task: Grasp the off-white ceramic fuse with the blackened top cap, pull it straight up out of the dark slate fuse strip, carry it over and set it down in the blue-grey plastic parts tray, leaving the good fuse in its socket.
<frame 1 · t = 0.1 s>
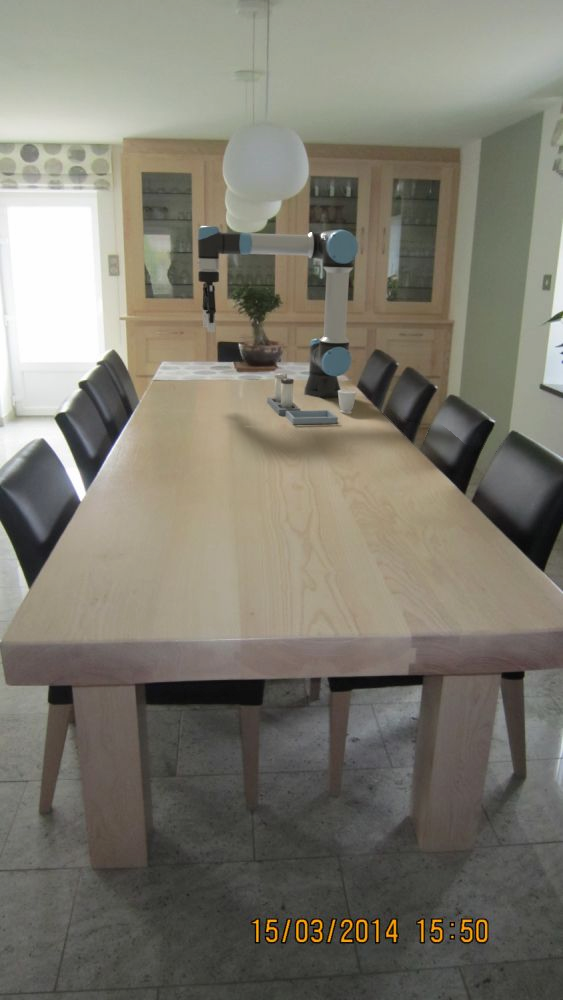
hand: (209, 329, 281), 28 cm above the table, fingers open, 13 cm apart
parts tray: (311, 420, 266), on the table
blown fuse: (286, 411, 277), resting on fuse strip
fuse strip: (283, 409, 283), on the table
good fuse: (280, 405, 287), resting on fuse strip
cup: (345, 412, 283), on the table
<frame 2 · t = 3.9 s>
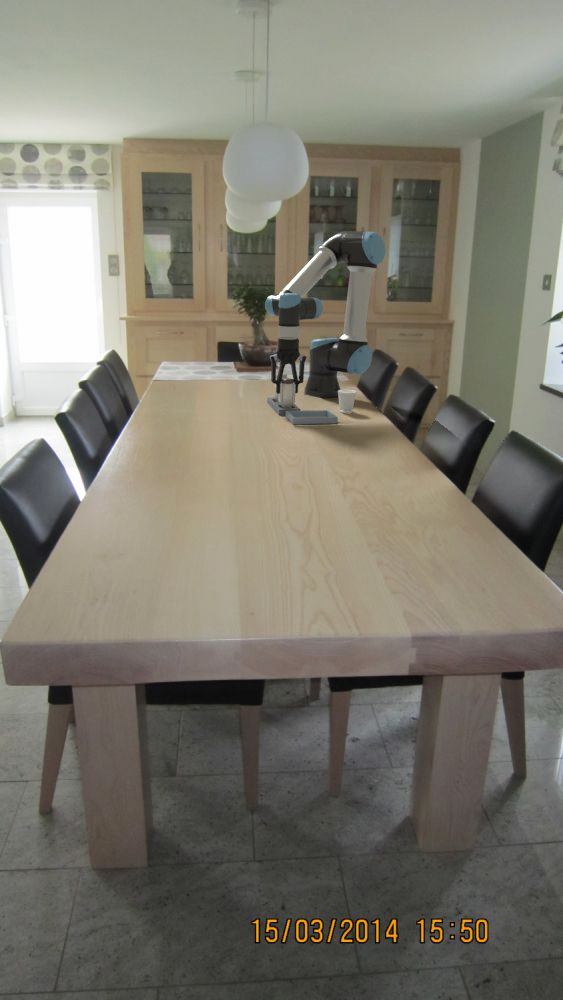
hand: (286, 402, 276), 4 cm above the table, fingers closed on blown fuse, 4 cm apart
blown fuse: (286, 411, 277), point 1 cm above the table, touching gripper
everything else where it was.
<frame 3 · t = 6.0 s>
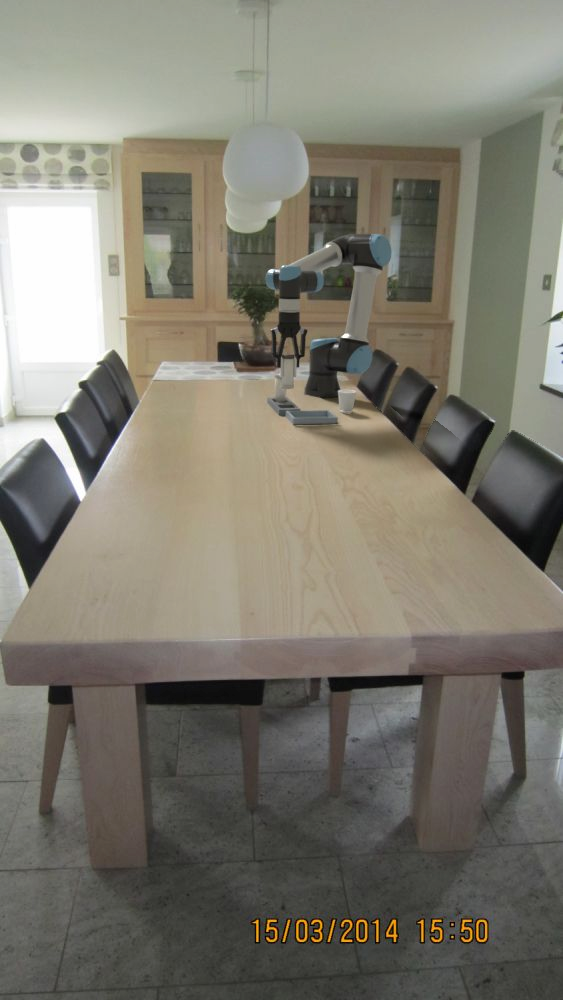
hand: (287, 376, 273), 14 cm above the table, fingers closed on blown fuse, 4 cm apart
blown fuse: (287, 387, 275), point 9 cm above the table, touching gripper
everything else where it was.
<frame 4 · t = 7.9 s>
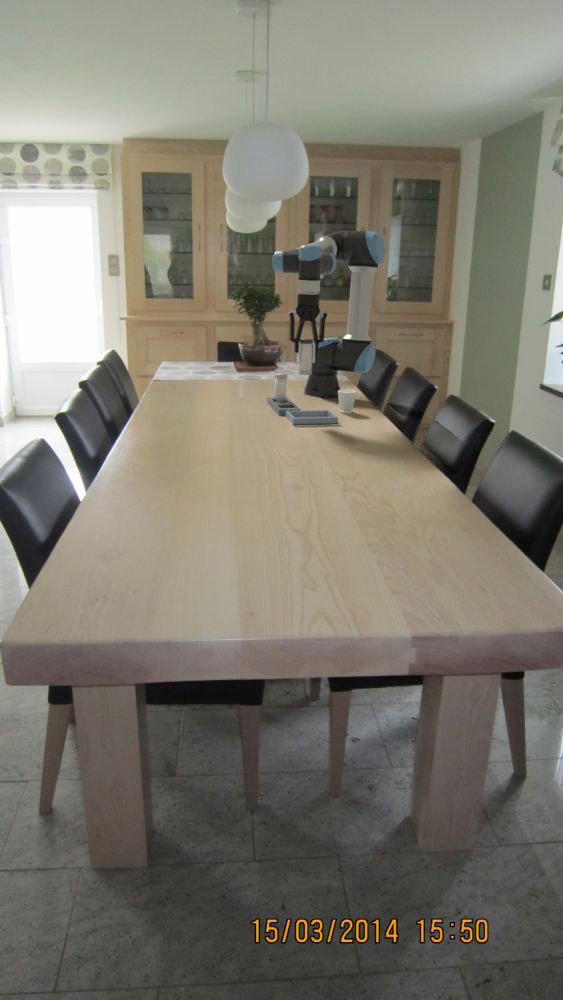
hand: (305, 362, 262), 20 cm above the table, fingers closed on blown fuse, 4 cm apart
blown fuse: (305, 373, 263), point 16 cm above the table, touching gripper
everything else where it was.
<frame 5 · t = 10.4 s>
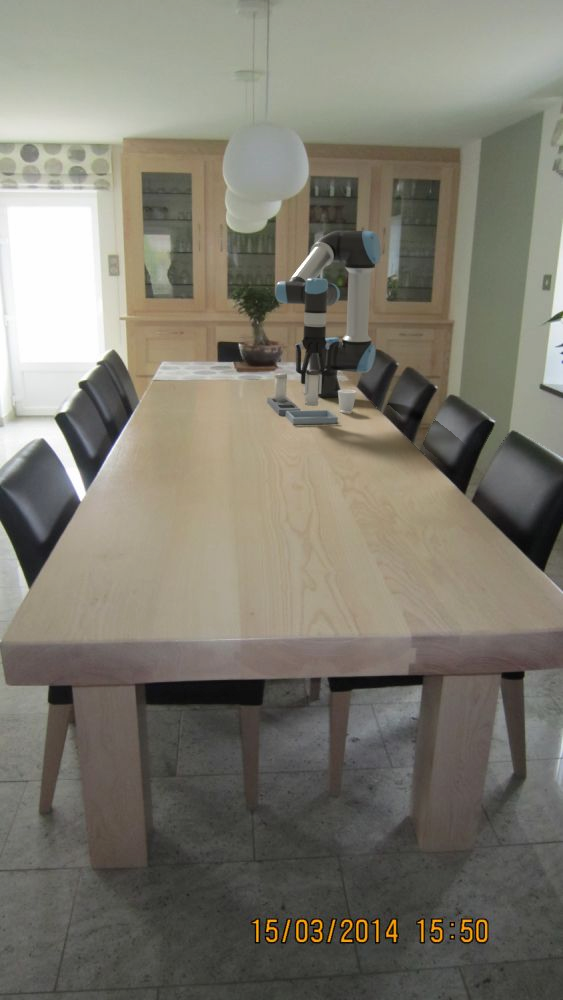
hand: (312, 393, 263), 10 cm above the table, fingers closed on blown fuse, 4 cm apart
blown fuse: (311, 404, 264), point 6 cm above the table, touching gripper
everything else where it was.
when the fingers open (4 cm above the table, at t = 12.1 s): blown fuse stays where it is, resting on parts tray.
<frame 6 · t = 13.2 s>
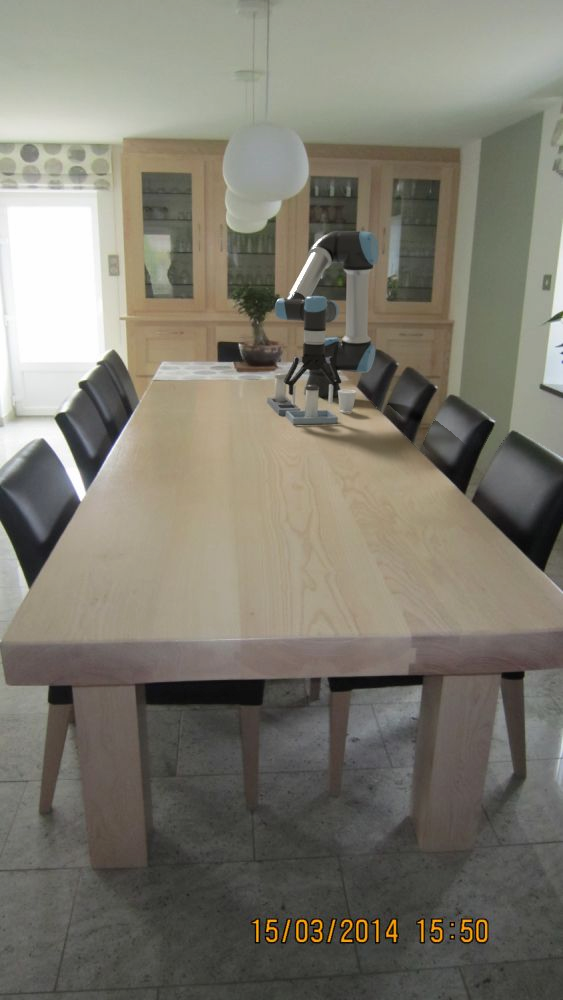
hand: (311, 403, 264), 6 cm above the table, fingers open, 13 cm apart
blown fuse: (311, 419, 266), point 1 cm above the table, touching parts tray
everything else where it was.
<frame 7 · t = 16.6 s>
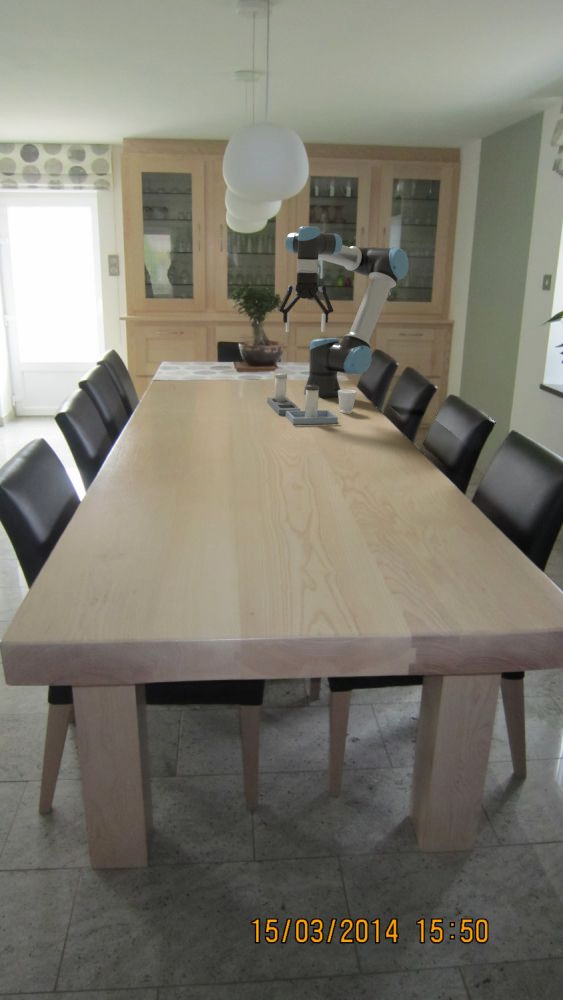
hand: (305, 331, 277), 29 cm above the table, fingers open, 13 cm apart
nothing on the table moved.
at the end: blown fuse inside the target area on the parts tray (0.0 cm from its centre), point 0.6 cm above the parts tray's base; the gripper is holding nothing; good fuse moved 0.0 cm from its start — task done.
